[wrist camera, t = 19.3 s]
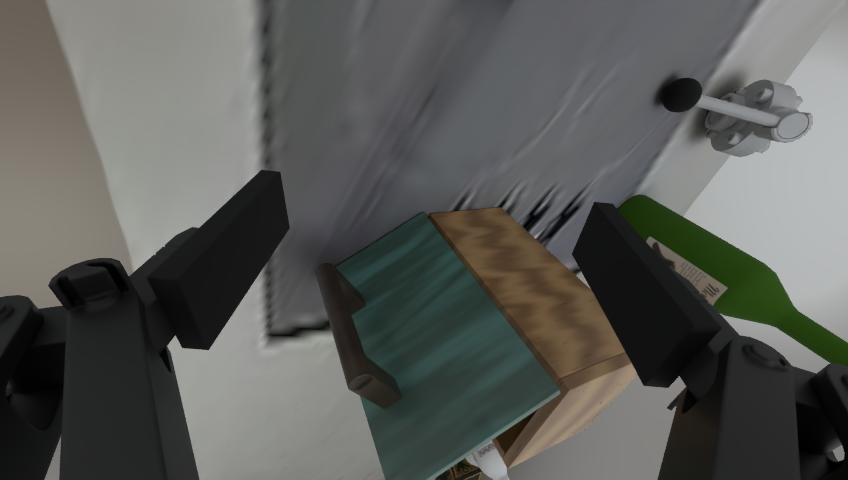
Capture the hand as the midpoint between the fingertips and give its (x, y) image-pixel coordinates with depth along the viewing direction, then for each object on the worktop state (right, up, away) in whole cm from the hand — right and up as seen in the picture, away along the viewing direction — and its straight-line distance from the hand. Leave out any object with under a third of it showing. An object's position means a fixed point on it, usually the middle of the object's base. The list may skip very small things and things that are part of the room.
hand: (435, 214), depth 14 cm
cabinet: (+4, -3, +33) cm, 33 cm away
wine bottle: (+37, +4, +47) cm, 60 cm away
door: (-7, 0, +23) cm, 25 cm away
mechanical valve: (+40, +19, +36) cm, 57 cm away
